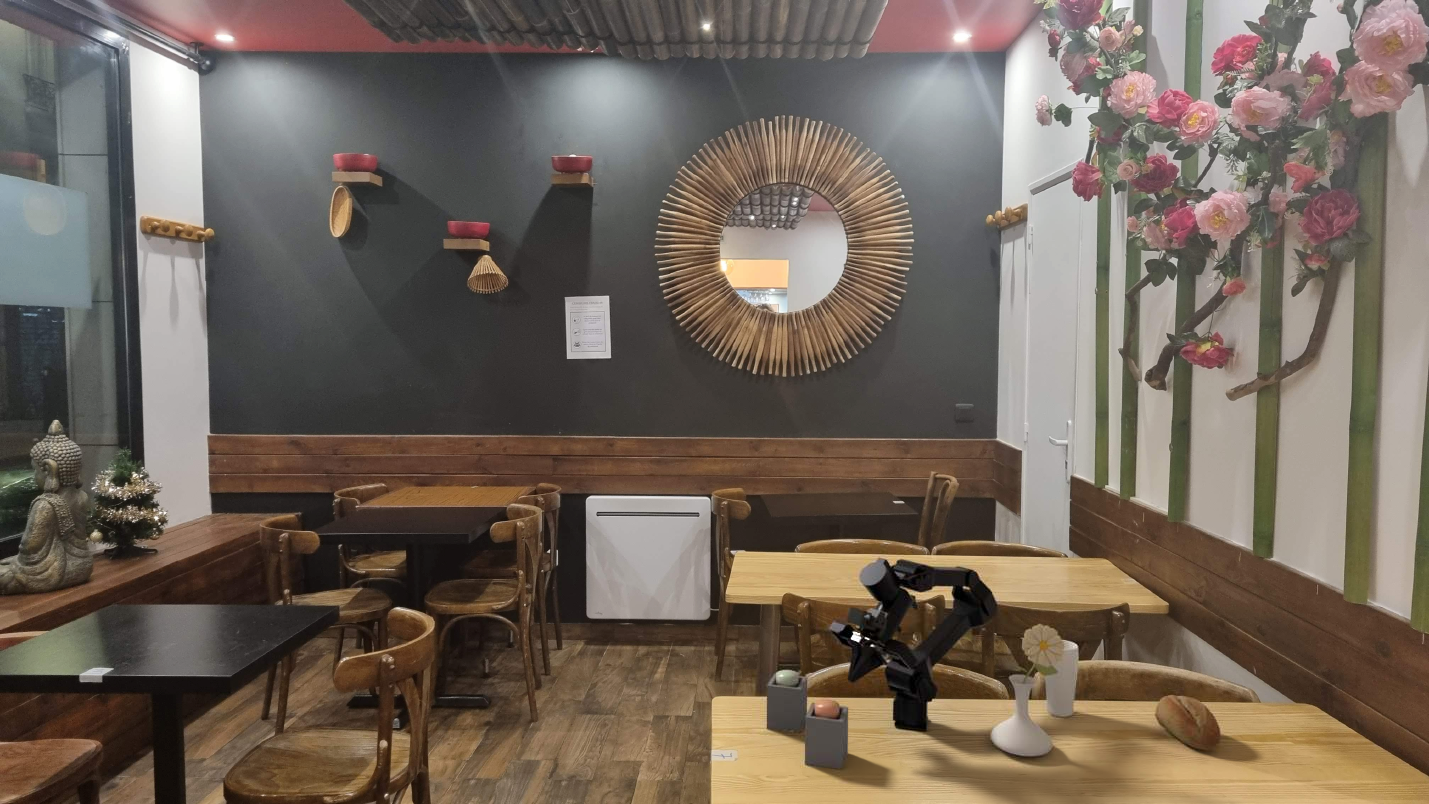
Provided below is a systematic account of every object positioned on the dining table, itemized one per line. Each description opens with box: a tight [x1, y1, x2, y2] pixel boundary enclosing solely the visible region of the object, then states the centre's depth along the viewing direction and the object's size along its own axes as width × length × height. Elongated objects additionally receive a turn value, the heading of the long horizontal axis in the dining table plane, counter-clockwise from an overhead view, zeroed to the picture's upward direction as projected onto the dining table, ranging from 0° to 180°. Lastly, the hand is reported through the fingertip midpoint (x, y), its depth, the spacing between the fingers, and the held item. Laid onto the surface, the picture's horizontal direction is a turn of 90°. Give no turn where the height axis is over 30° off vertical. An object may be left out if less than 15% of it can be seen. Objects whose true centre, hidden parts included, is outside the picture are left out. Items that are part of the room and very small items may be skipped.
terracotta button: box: [814, 698, 840, 720], centre depth 158 cm, size 5×5×2 cm
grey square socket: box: [766, 672, 808, 733], centre depth 174 cm, size 7×7×9 cm
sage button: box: [775, 669, 800, 688], centre depth 173 cm, size 5×5×2 cm
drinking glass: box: [1044, 639, 1079, 718], centre depth 179 cm, size 7×7×15 cm
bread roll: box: [1154, 694, 1221, 751], centre depth 168 cm, size 10×15×8 cm, turn 3°
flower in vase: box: [989, 623, 1065, 757], centre depth 162 cm, size 13×11×25 cm
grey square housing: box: [804, 702, 849, 771], centre depth 159 cm, size 7×7×9 cm
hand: (850, 681), depth 162 cm, fingers closed
